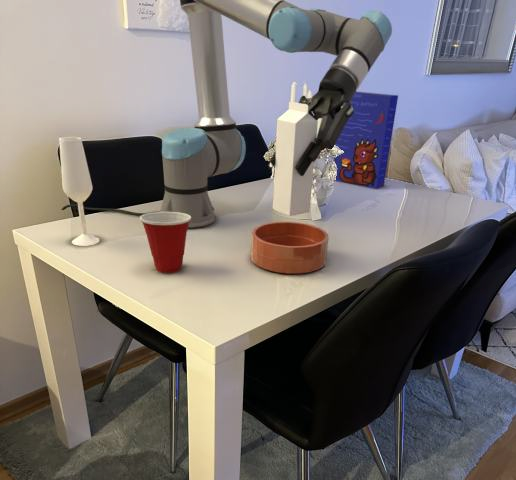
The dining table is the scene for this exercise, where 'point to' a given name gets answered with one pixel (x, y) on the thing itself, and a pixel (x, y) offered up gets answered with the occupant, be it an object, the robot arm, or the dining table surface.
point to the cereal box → (366, 140)
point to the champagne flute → (76, 181)
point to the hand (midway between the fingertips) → (286, 168)
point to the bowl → (289, 247)
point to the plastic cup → (166, 238)
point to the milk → (293, 160)
